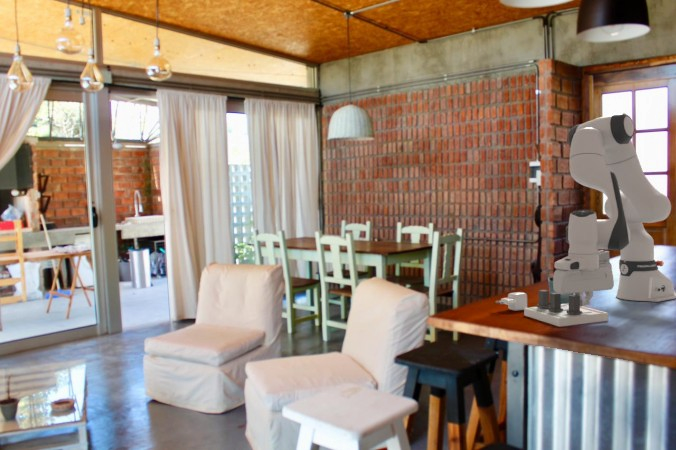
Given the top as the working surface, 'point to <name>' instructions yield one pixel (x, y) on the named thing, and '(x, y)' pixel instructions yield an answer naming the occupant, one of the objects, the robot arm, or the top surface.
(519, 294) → the power adapter
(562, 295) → the flower pot
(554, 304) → the middle handle
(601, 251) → the cassette player
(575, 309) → the handle
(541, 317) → the panel
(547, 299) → the far handle
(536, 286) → the top surface
